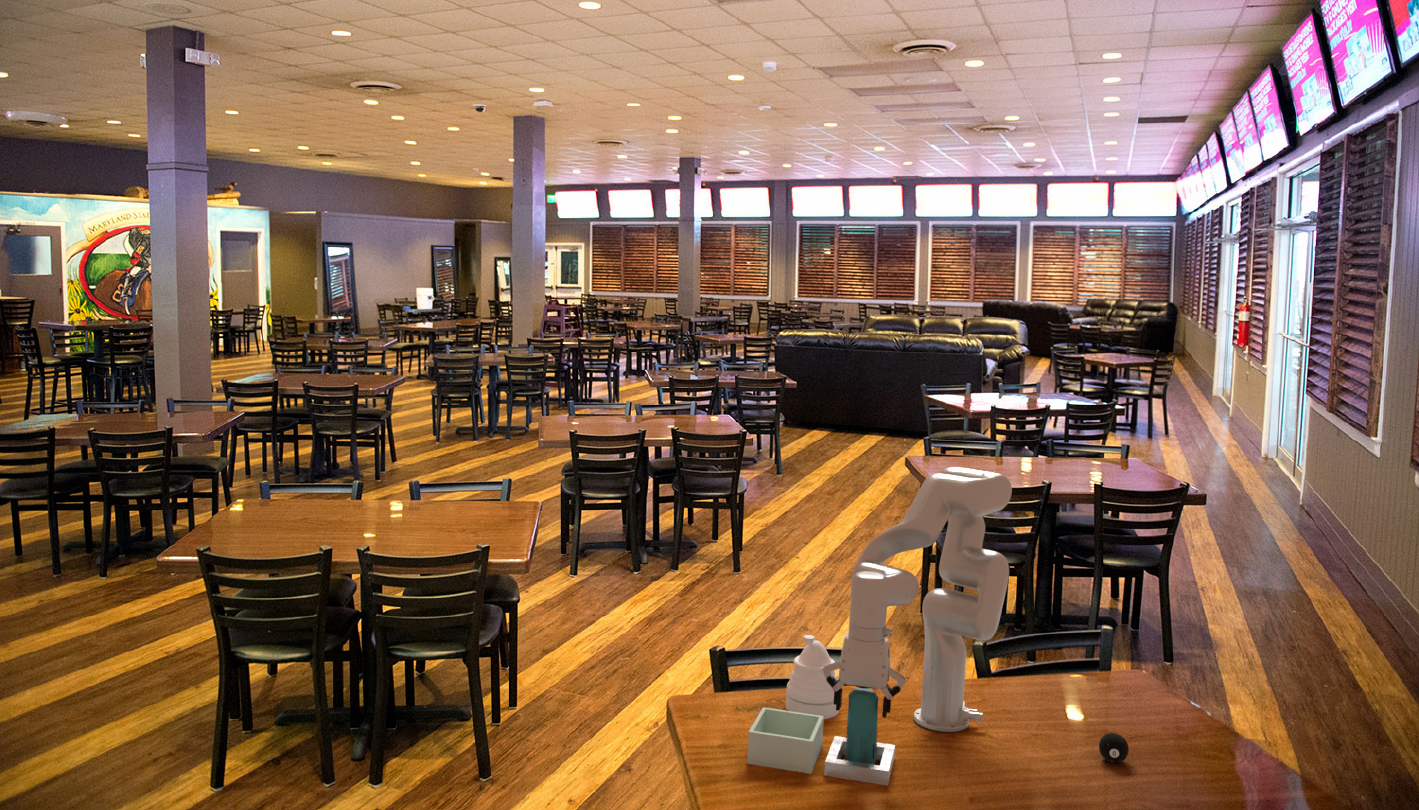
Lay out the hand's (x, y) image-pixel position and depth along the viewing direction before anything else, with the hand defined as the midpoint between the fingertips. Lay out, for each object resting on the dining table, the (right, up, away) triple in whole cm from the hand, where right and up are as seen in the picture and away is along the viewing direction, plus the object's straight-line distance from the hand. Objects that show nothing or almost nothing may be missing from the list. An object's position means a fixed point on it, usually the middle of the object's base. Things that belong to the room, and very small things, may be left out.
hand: (861, 711), depth 214 cm
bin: (-15, -11, +6) cm, 20 cm away
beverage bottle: (0, -12, +2) cm, 12 cm away
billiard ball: (+56, -14, +9) cm, 58 cm away
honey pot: (-7, -9, +32) cm, 34 cm away
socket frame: (0, -12, +2) cm, 12 cm away
